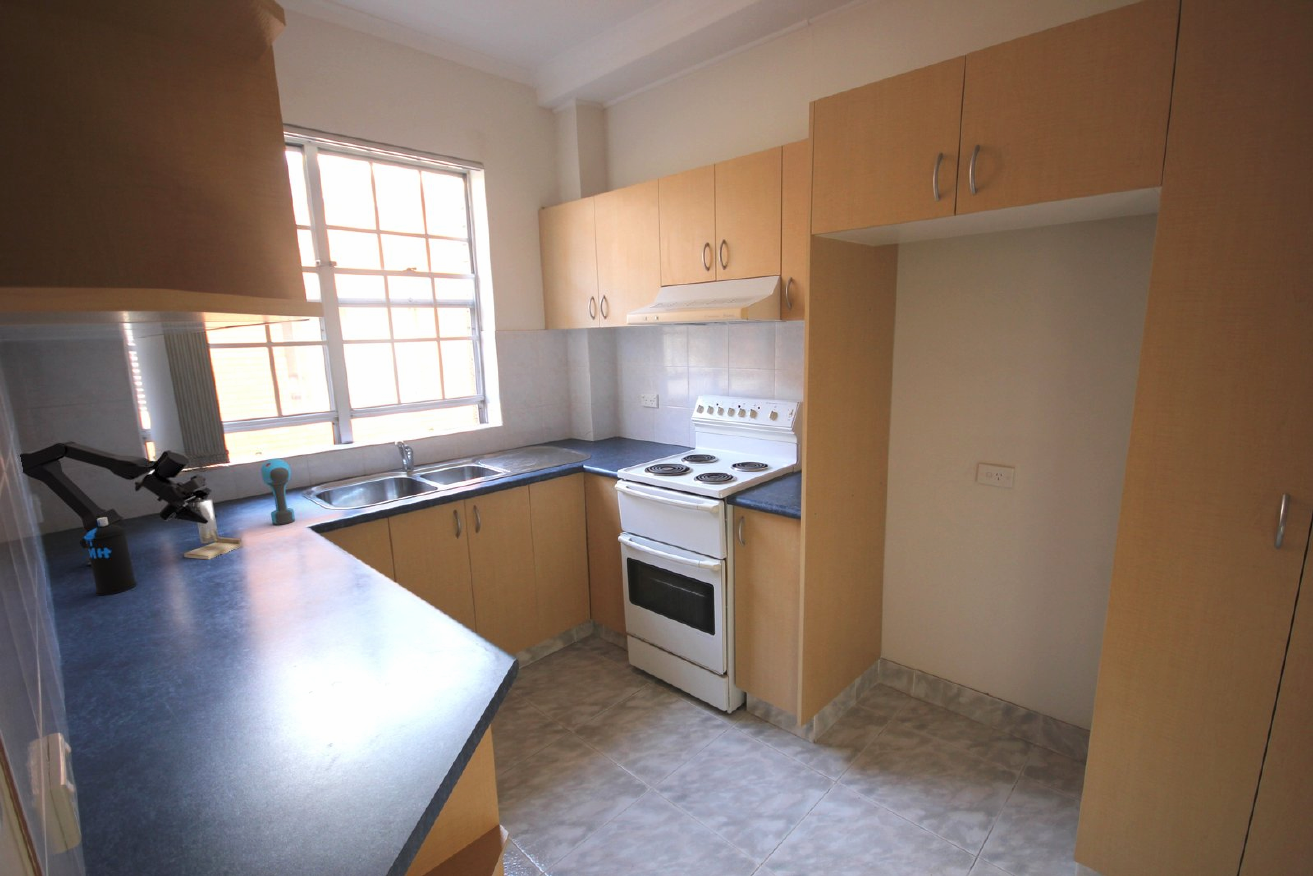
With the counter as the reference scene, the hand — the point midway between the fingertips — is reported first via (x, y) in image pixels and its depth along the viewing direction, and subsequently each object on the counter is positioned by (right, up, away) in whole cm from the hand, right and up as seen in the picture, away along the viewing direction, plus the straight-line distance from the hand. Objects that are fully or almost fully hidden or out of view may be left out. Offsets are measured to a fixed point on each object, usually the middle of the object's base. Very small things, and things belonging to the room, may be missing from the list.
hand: (211, 520), depth 182 cm
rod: (-1, -7, +1) cm, 7 cm away
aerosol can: (-7, -15, -24) cm, 30 cm away
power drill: (0, -5, +34) cm, 34 cm away
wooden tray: (-1, -10, +2) cm, 11 cm away
